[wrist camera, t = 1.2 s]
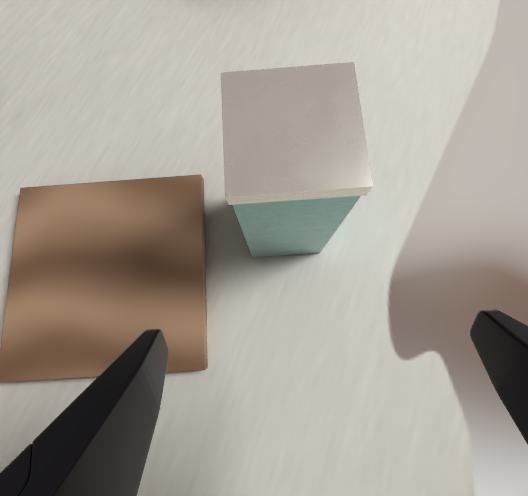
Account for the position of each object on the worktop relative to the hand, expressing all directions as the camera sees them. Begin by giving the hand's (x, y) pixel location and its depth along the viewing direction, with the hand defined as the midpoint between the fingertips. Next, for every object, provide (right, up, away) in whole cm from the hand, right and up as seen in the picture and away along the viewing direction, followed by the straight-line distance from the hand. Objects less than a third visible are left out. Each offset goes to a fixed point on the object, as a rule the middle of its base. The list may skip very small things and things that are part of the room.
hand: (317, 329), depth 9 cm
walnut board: (-13, 0, +14) cm, 19 cm away
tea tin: (0, +4, +14) cm, 15 cm away
